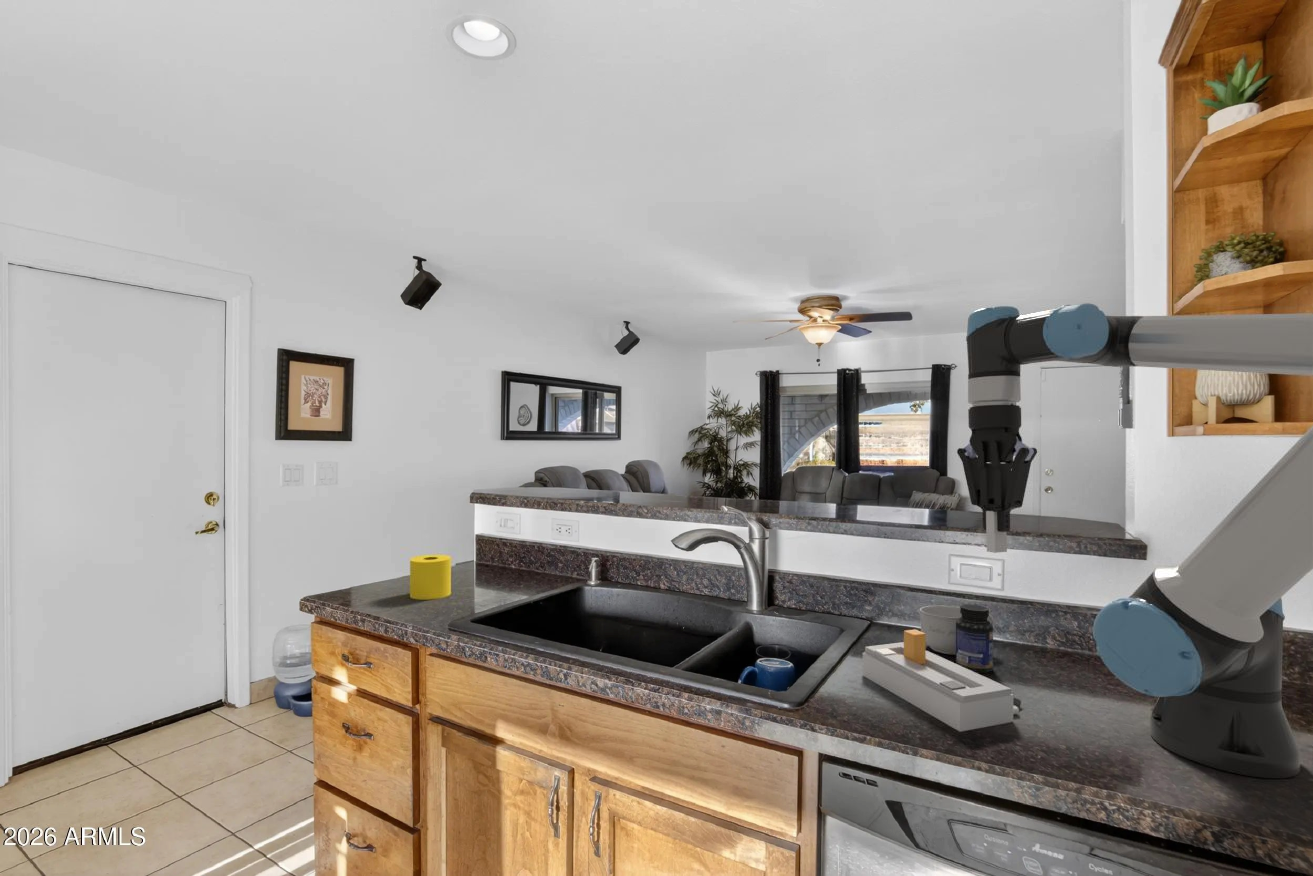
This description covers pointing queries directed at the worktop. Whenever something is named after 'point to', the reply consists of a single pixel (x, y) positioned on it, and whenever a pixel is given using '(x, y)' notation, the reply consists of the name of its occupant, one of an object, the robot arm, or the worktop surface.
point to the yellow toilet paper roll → (430, 577)
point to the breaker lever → (915, 646)
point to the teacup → (942, 627)
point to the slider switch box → (940, 687)
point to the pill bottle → (974, 639)
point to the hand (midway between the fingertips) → (996, 551)
